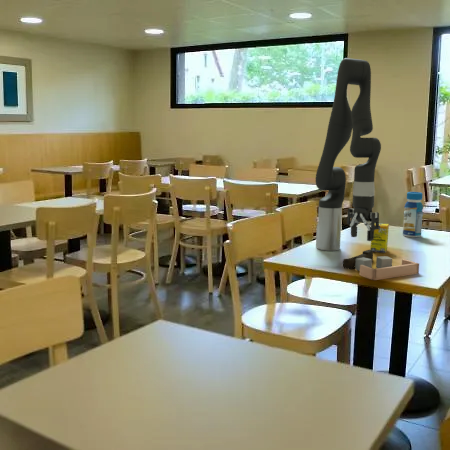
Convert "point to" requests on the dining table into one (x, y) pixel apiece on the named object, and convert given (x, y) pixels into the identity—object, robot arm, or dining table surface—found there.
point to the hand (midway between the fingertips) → (361, 238)
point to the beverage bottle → (413, 215)
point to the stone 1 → (363, 263)
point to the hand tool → (351, 261)
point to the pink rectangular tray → (390, 270)
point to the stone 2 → (383, 262)
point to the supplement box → (380, 239)
